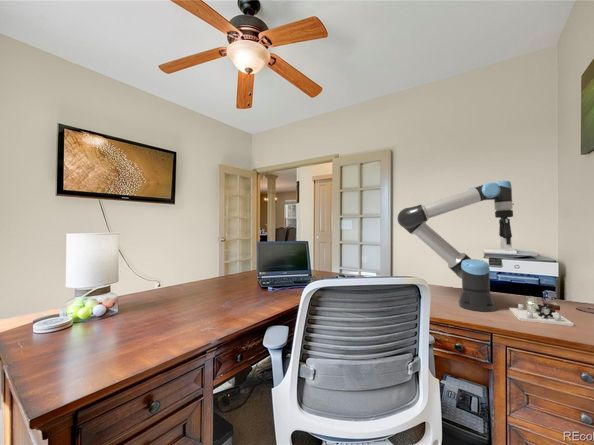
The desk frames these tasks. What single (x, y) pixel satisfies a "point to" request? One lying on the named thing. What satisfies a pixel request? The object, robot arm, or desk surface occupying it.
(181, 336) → the desk surface
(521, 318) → the mounting plate
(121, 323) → the desk surface
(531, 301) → the valve
